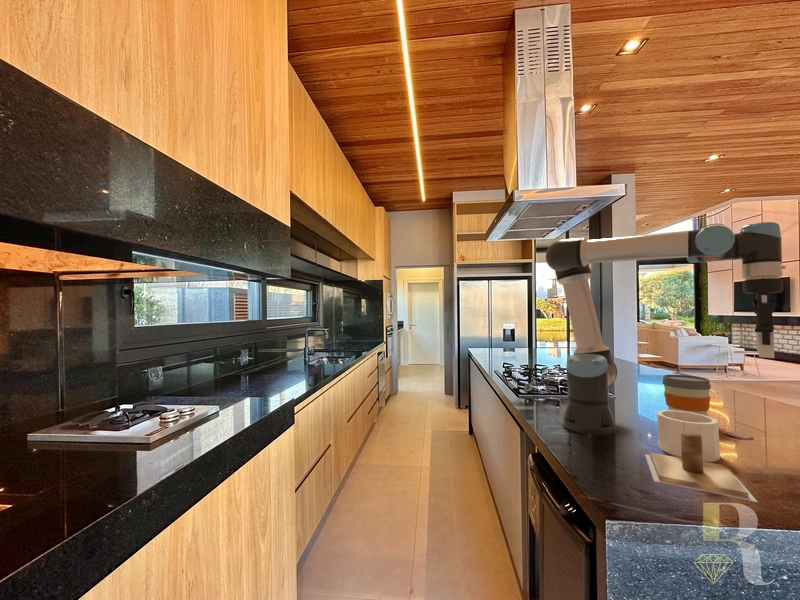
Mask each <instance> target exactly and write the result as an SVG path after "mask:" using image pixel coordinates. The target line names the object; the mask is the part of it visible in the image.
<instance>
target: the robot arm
mask: <svg viewBox="0 0 800 600" xmlns="http://www.w3.org/2000/svg"><path fill="white" fill-rule="evenodd" d="M782 246H783V245H782V234H781V226H780V224H778V223H777V222H775V221H763V222H755V223H751V224H746V225H743V226H742V227H741V228H740V231H739V232H738V233H737V232H736V233H734V232H733V230H732V229H731V228H729V227H727V226H725V225H720V224H715V225H713V224H712V225H709V226H707V227H705V228H701V229H693V230H692V229H691V230H681V231H672V232H662V233H651V234H640V235H630V236H621V237H619V236H618V237H611V238H600V239H599V238H598V239H588V238H586V237H578V238H562V239H558V240H556V241H554V242H552V243H551V244H550V245H549V246H548V248H547V250H546V252H545V261H546V264H547V265H548V267H549V268H550V269H552V270H554V272H555V276H556V281H557V283H559V284H561V285H562V288H563V291H564V296H565V301H566V305H567V310H568V313H569V314H568V315H569V318H570V322H571V326H572V327H571V328H572V332H573V337H574V341H575V344H576V348H575V350H574V351H573V354H572V355H569V356H568V357H567V359H566V365H565V367H566V382H567V383H566V385H567V404H566V407H565V409H564V413H563V416H562V426H563V427H565V429H567V430H569V431H572V432H575V433H578V434H582V435H591V436H612V435H615V434H617V423H616V422H615V418H614V416H613V413H612V411H611V408H610V404H609V403H610V401H609V386H611V385H612V384H613V383H614V382H615V381H616V379H617V377H618V367H617V365H616V363H615V361H614V359H613V357H612V354H611V349H610V347H608V346H607V345H605V344H604V341H603V336H602V332H601V328H600V325H599V319H598V316H597V313H596V308H595V307H596V306H595V304H594V300H593V295H592V291H591V288H590V287H591V286H590V283H589V279H590V278H591V276H592V271H591V270H592V269H591V265H590V264H597V263H598V264H599V263H612V262H613V263H614V262H617V263H618V262H631V261H643V260H644V261H645V260H646V261H647V260H663V259H681V258H686V260H687V262H688V263H691V264H692V263H694V264H695V263H700V264H704V263H708V262H720V261H722V262H723V261H731V260H733V261H735V260H741V262H742V263H741V275H742V277H741V278H743V279H745V280H743V281H742V291H743V294H750V295H751V294H756V297H755V298H754V299H752V306H753V312H754V314H756V315H755V317H756V319H755V321H756V322H755V328H754V333H755V334H756V353H757V354H758V358H765V359H767V358H768V359H775V339H774V337H775V336H774V334H775V333H774V332H775V331H774V329H775V326H774V319H773V313H774V310H775V309H774V306H775V299H772V297H773V296H772V295H771V294H775V293H778V294H779V293H782V292H783V291H784V280H783V279H782V278H781V277H783V270H785V269H786V265H783V263H782V262H783V260H782V259H783V258H782V257H783V256H782V254H783V251H782V250H783V249H782Z"/></svg>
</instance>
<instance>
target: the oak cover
mask: <svg viewBox="0 0 800 600" xmlns="http://www.w3.org/2000/svg"><path fill="white" fill-rule="evenodd" d="M681 450H682V458H681V457H678V456H674V455H667V454H661V453H655V452H650V453H649V455H650V457H651V460H652V463H653V465H654V468H655V471H656V473H657V476H658V478H659V480H660V481H665V482H670V483H675V484H681V485H686V486H691V487H696V488H701V489H706V490H711V491H716V492H721V493H726V494H731V495H736V496H741V497H746V498H749V497H748V492H747V491H746V490H745V489H744V487H745V486H744V487H743V486H742V485H741V484H740V483H739V481H740V480H739V479H738V480H739V481H738V480H737V479H736V478H735V477H734V476H733V474H734V473H733V472H732V473H733V474H732V473H731V472H730V471H729V470H728V469H729V468H728V467H727V466H726V465H725V464H719V463H714V462H703V452H702V436H701V435H699V434H696V433H692V432H681ZM727 468H728V469H727Z"/></svg>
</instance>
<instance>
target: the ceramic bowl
mask: <svg viewBox="0 0 800 600" xmlns="http://www.w3.org/2000/svg"><path fill="white" fill-rule="evenodd" d="M656 424H657V425H656V426H657V428H656V429H657V443H658V444H657V445H658V447H659V449H660V450H661V451H663V452H665V453H667V454H669V455H670V456H674V457H679V458H682V450H681V432H692V433H696V434H699V435H701V436H702V452H703V462H709V463H714V462H718V461H719V460H720V459H721V449H720V445H721V444H720V432H719V431H720V430H719V429H720V427H719V421H718V420H717V419H716V418H713V417H711V416H708V415H702V414H697V413H692V412H686V411H677V410H669V409H662V410H658V411H656Z"/></svg>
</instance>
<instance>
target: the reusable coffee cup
mask: <svg viewBox="0 0 800 600" xmlns="http://www.w3.org/2000/svg"><path fill="white" fill-rule="evenodd" d="M710 382H711V381H710V379H708V378H706V377H701V376H695V375H688V374H687V375H685V374H663V376H662V385H663V387H664V391H663V395H664V399H665V400H664V401H665V405H666V406H667V408H668V410H677V411H686V412H692V413H697V414H702V415H706V416H708V415H707V414H708V411H709V410H710V405H711V403H710V402H711V396H710V390H711V388H712V386H711V383H710Z"/></svg>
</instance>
